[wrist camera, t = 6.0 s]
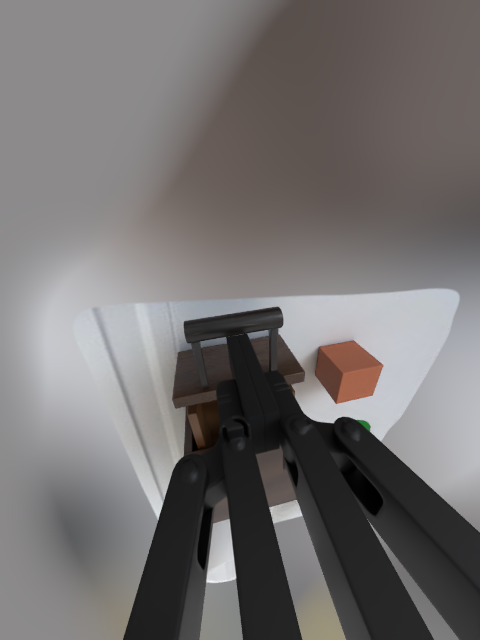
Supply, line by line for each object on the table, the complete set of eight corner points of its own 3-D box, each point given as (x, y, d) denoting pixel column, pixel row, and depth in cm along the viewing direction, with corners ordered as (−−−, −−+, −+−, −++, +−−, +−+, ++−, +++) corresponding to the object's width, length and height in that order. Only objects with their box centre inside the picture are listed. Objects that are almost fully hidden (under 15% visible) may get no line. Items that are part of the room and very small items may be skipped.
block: (319, 346, 27) (343, 373, 22) (353, 340, 27) (383, 365, 23) (315, 375, 29) (335, 404, 25) (347, 368, 30) (372, 395, 25)
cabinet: (186, 394, 26) (183, 462, 19) (280, 375, 28) (309, 431, 21) (205, 459, 34) (208, 525, 27) (278, 441, 35) (299, 499, 28)
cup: (267, 479, 41) (285, 548, 33) (245, 509, 46) (257, 576, 37) (207, 481, 37) (211, 560, 29) (191, 514, 42) (190, 590, 34)
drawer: (162, 297, 19) (148, 334, 13) (280, 280, 20) (313, 307, 15) (200, 433, 29) (202, 485, 23) (277, 415, 30) (296, 461, 25)
